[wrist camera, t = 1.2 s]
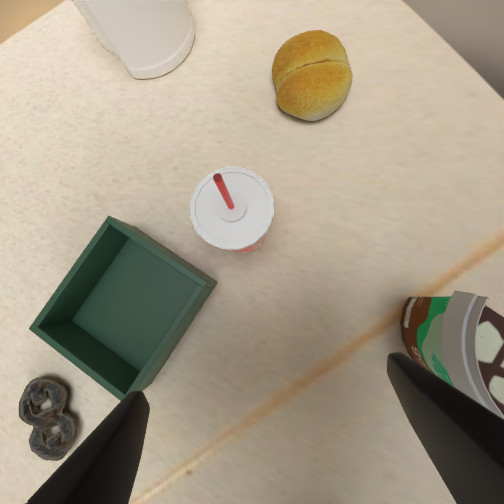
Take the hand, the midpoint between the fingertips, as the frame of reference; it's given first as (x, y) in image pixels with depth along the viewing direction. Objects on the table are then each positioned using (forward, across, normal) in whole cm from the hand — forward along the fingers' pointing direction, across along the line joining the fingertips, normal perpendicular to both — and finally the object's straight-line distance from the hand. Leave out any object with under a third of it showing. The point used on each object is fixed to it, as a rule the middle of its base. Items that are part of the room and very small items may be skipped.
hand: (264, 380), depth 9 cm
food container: (+12, -15, +13) cm, 23 cm away
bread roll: (+27, -9, -12) cm, 31 cm away
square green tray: (+16, +13, +5) cm, 21 cm away
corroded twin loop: (+11, +23, +14) cm, 29 cm away
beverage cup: (+19, +1, +1) cm, 19 cm away
